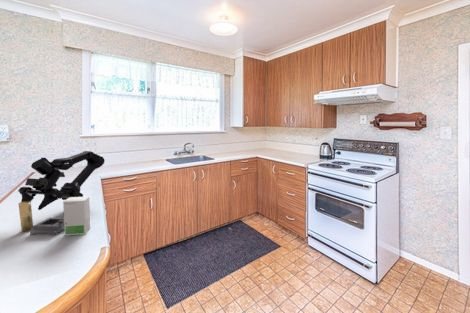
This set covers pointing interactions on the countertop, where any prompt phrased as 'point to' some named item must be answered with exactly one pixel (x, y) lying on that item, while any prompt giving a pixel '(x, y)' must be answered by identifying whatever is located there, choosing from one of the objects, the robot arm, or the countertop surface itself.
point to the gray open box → (48, 227)
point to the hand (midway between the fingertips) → (29, 209)
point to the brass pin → (26, 216)
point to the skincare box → (76, 215)
